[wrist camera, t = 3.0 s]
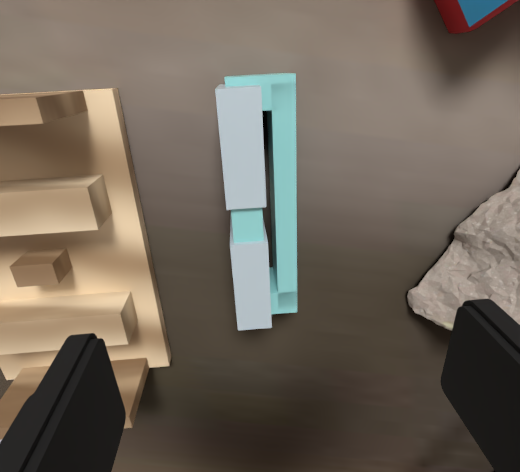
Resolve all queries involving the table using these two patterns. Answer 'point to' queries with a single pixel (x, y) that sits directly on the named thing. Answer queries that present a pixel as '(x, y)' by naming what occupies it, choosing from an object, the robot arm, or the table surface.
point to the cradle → (73, 244)
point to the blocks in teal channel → (260, 192)
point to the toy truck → (469, 13)
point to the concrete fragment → (476, 263)
